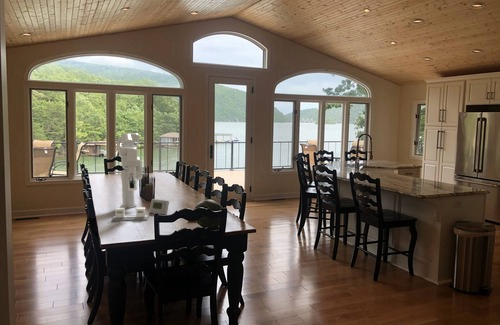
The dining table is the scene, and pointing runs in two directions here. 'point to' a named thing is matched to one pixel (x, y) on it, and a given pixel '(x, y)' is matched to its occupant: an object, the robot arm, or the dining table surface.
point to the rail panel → (122, 217)
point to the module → (134, 185)
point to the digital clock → (159, 206)
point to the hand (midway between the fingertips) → (132, 187)
